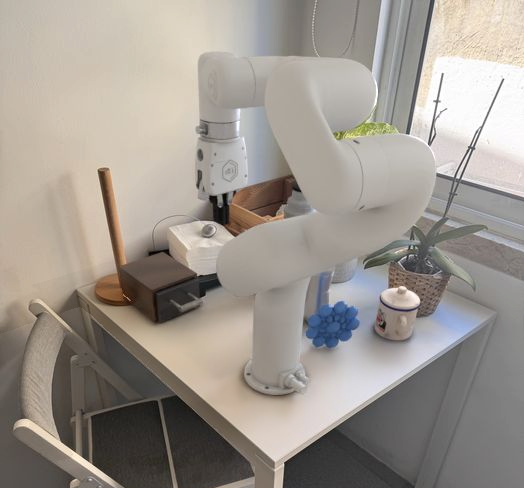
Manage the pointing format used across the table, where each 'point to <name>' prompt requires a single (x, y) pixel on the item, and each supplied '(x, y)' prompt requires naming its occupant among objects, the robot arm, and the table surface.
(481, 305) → the table surface
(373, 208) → the robot arm
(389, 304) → the teacup with lid
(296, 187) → the thermos bottle
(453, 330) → the table surface
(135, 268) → the cabinet
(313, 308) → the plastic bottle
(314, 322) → the blue knobbly flower
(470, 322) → the table surface
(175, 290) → the drawer
